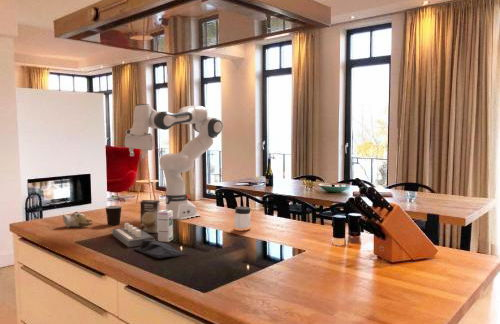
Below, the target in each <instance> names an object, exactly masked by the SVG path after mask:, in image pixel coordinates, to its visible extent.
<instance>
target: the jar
mask: <svg viewBox="0 0 500 324" xmlns="http://www.w3.org/2000/svg"><path fill="white" fill-rule="evenodd" d="M251 219H252V212H251V207H249V206H236V207H235V210H234V218H233V220H234V222H233V223H234V224H233V225H234V227H235V228H239V229H241V228H242V229H244V228H249V227H250V226H251V227H252V223H251V221H252V220H251Z"/></svg>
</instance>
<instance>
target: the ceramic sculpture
mask: <svg viewBox="0 0 500 324" xmlns="http://www.w3.org/2000/svg"><path fill="white" fill-rule="evenodd" d="M62 220H63V224H64V226H65V227H66V228H70V227H75V228H80V227H88V226H92V225H93V222H92V219H87V217H86V215H85V214H84V213H79V212H78V211H75V212H72V214H70V215H68V214H63V215H62ZM90 222H92V223H90Z"/></svg>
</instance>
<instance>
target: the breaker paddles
mask: <svg viewBox="0 0 500 324" xmlns="http://www.w3.org/2000/svg"><path fill="white" fill-rule="evenodd" d="M123 224H124V227H123V228H124V229H125V230H128V232H131V234H133V235H135V236H136V237H137V238H138V237H141V230H137V228H136V227H137V226H136V227H134V225H132V224H130V223H129V222H125V223H123Z"/></svg>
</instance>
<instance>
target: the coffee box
mask: <svg viewBox="0 0 500 324" xmlns="http://www.w3.org/2000/svg"><path fill="white" fill-rule="evenodd" d="M159 211H160V200H156V199H155V200H153V199H152V200H150V199H149V200H147V199H143V200H141V202H140V219H139V220H140V221H139V222H140V224H139V225H140V228H139V229H141V230H143V231H144V232H146V233H154V234H155V233H157V234H158V214H157V212H159Z"/></svg>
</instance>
